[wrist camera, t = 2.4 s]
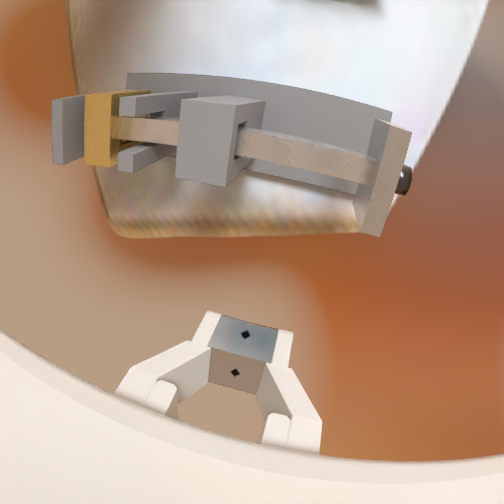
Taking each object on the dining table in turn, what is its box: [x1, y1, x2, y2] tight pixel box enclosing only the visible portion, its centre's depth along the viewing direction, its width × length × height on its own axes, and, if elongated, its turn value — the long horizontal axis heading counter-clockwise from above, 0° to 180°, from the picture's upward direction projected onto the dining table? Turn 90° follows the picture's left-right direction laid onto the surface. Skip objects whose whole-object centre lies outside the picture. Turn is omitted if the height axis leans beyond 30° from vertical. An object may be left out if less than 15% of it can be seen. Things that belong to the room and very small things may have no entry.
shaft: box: [121, 115, 412, 237], centre depth 23 cm, size 8×28×6 cm, turn 81°
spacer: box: [84, 90, 151, 168], centre depth 25 cm, size 6×3×6 cm, turn 171°
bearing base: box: [51, 73, 393, 195], centre depth 26 cm, size 10×30×14 cm, turn 81°
